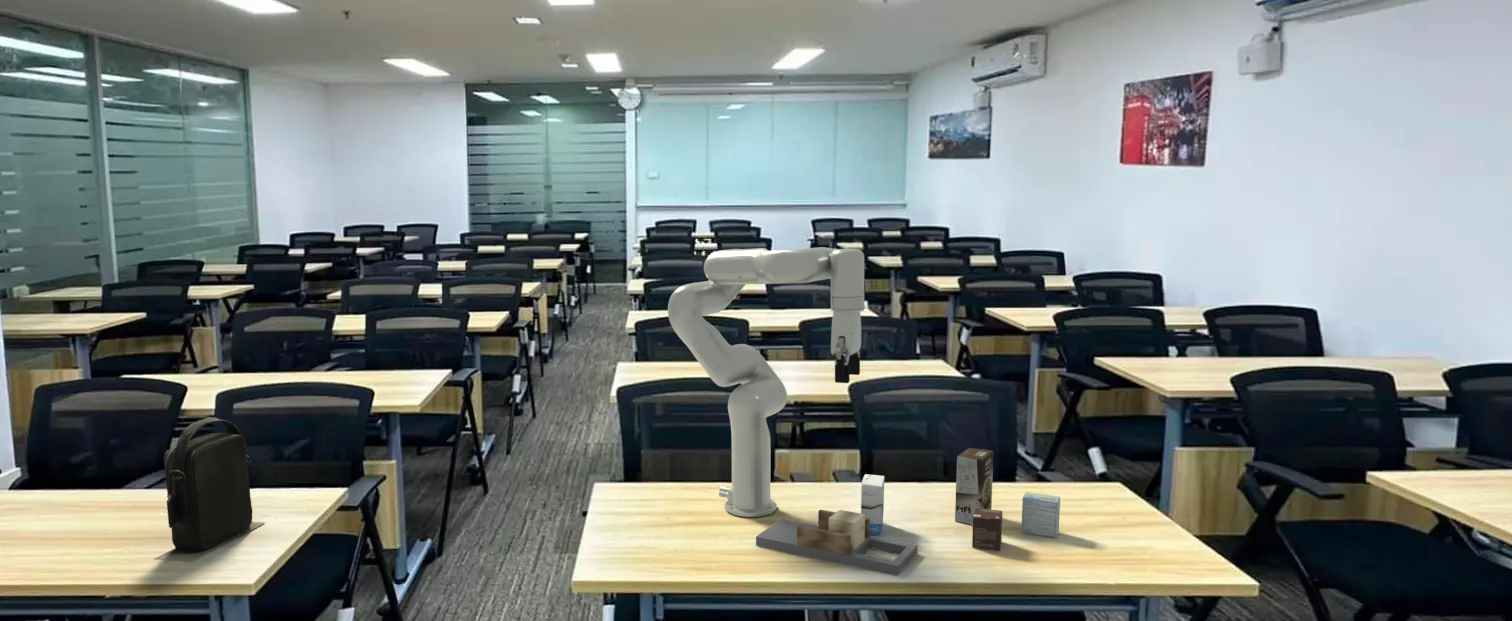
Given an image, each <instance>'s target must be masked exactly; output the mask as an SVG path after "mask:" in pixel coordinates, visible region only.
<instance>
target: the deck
mask: <svg viewBox="0 0 1512 621" xmlns="http://www.w3.org/2000/svg"><path fill="white" fill-rule="evenodd" d="M799 525H800V526H805V527H811V528H816V529H821V528H818V524H817V525H816V524H812V523H806V522H801V521H796V520H790V519H787V518H786V519H785V518H780V519H779V520H778V521H776V522H775V523H773V524H772V525H770V526H769V527H768V528H766V529H765V530H763V531H761V533H759V534H758V535H757V536H755V546H758V547H762V548H763V547H764V548H766V549H767V548H768V549H773V550H777V551H781V552H786V553H791V554H796V555H801V556H805V557H810V558H814V559H818V560H824V561H829V562H833V563H837V564H843V565H847V566H853V567H858V568H862V569H865V570H866V569H867V570H871V571H876V572H882V573H886V574H891V575H896V576H899V575H900V574H901V573H902V571H903V570H904V569H905V568H906V567H907V566H908V565H909V564H910V563H911V561H913V559H914V558H915V557H916V556H917V554H918V547H919V545H918V544H916V543H910V542H904V541H899V540H894V539H890V538H889V539H888V538H885V537H878V536H875V535H870V536H869V537H868V538H867V537H865V541H864V542H863V543H861V544H860V545H859V546H858V547H857V548H856V549H855V550H851V554H849V555H845V554H840V553H835V552H830V551H825V550H820V549H816V548H811V547H806V546H801V545H797V527H798V526H799ZM821 530H826V529H821ZM826 531H829V530H826ZM870 549H872V550H878V551H884V552H887V553H892V554H897V556H896V557H895V559H894V560H892V559H887V558H882V557H879V556H872V555H867V554H865V553H866V552H867V551H869V550H870Z"/></svg>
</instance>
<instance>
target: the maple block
mask: <svg viewBox="0 0 1512 621" xmlns="http://www.w3.org/2000/svg"><path fill="white" fill-rule="evenodd" d="M829 531H831V532H836V533H841V534H847V535H851V550H855V549H856V548H857V547H858V546H859V545H860V544H861V543H863V542H864V541H865V514H861V512H855V511H848V510H842V509H838V510H837V511H836V513H835V514H834V515H832V516H831V517H830V518H829Z"/></svg>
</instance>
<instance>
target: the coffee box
mask: <svg viewBox="0 0 1512 621" xmlns="http://www.w3.org/2000/svg"><path fill="white" fill-rule="evenodd" d="M994 453H995V451H993V450H988V449H981V448H972V447H968V448H967V449H966V450H964V451H963V452H961V453H960V454H958V455H957V457H956V474H955V475H956V479H955V480H956V481H955V504H954V505H955V507H954V521H955V522H959V523H964V524H968V525H969V524H970V525H972V524H973V515H974V512H975V509H976V508H981V509H990V510H992V502H993V499H992V498H993V475H994V474H993V472H994Z"/></svg>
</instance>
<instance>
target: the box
mask: <svg viewBox="0 0 1512 621" xmlns="http://www.w3.org/2000/svg"><path fill="white" fill-rule="evenodd" d="M1002 530H1003V510H998V509H991V510H990V509H981V508H976V509H975V512H974V515H973V525H972V534H971V535H972V537H971V538H972V541H971V544H972V545H971V547H972V548H973V549H980V548H981V550H991V551H998V552H999V551H1001V546H1002Z"/></svg>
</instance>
